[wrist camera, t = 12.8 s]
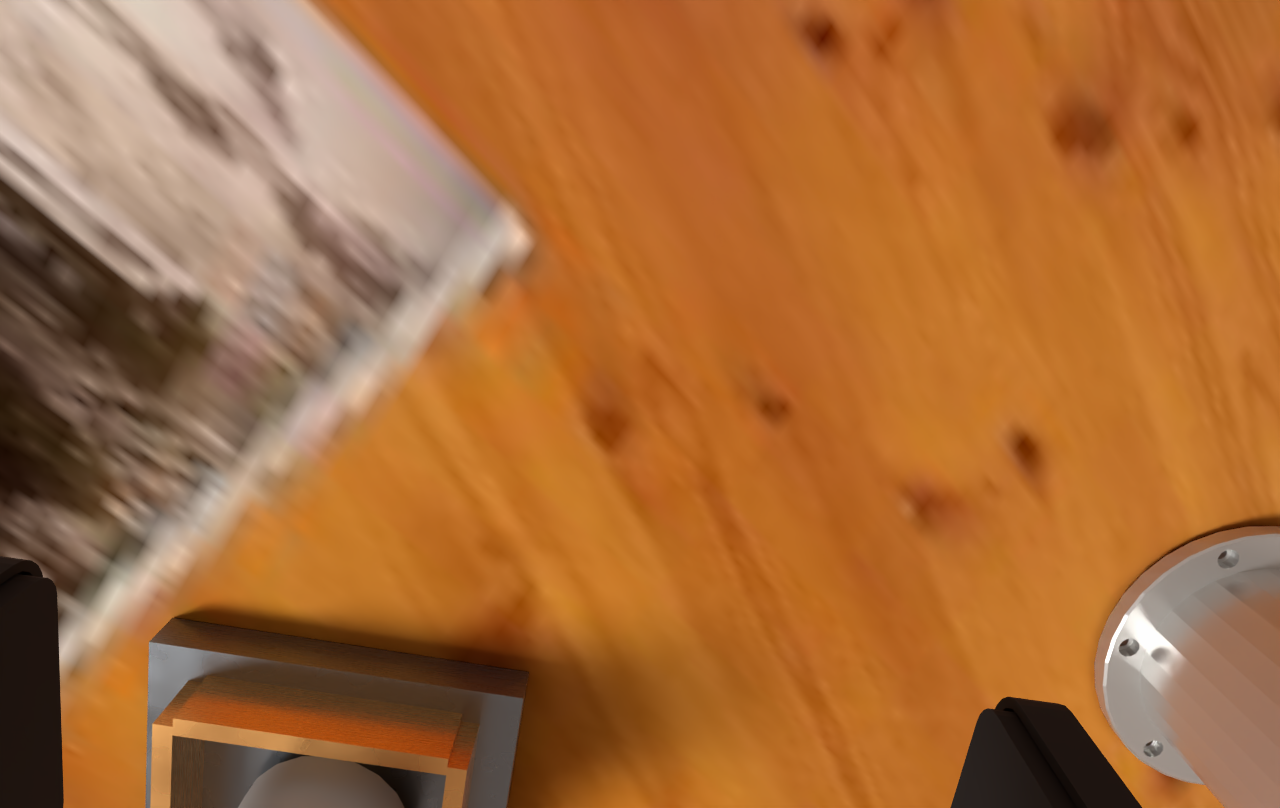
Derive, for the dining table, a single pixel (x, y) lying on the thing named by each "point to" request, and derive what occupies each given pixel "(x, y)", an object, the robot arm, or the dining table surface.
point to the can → (320, 786)
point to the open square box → (323, 717)
